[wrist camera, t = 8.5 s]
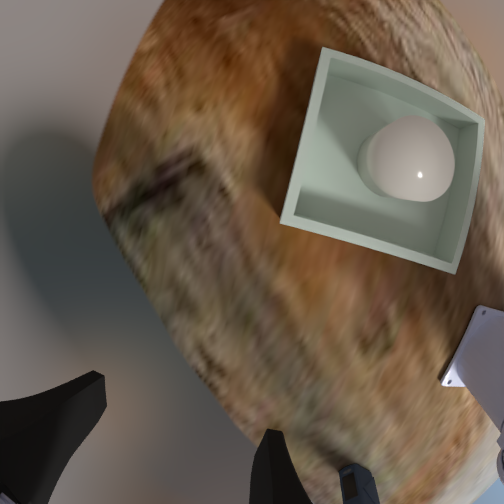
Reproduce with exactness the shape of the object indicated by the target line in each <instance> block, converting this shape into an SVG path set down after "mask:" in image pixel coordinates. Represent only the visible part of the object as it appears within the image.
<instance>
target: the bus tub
mask: <svg viewBox="0 0 504 504" xmlns="http://www.w3.org/2000/svg"><path fill="white" fill-rule="evenodd" d="M409 115H416V116H421V117H424V118H427V119H429V120H430V121H432V122H434V123H435V124H436V125H437V126H438V127H439V128H440V129H441V130H442V131H443V132H444V133H445V135H446V137H447V138H448V140H449V142H450V144H451V147H452V150H453V154H454V161H455V169H454V175H453V179H452V181H451V184H450V186H449V187H448V189H447V190H446V191H445V193H443V194H442V195H441V196H440V197H438V198H437V199H434V200H432V201H426V202H420V201H412V200H404V199H395V198H386V197H382V196H379V195H377V194H375V193H373V192H372V191H371V190H369V189H368V188H367V187H366V186H365V184H364V183H363V181H362V179H361V178H360V175H359V172H358V169H357V154H358V151H359V148H360V146H361V144H362V143H363V141H364V140H365V139H366V138H368V137H369V136H370V135H372V134H374V133H375V132H377V131H379V130H380V129H382V128H384V127H385V126H387V125H389V124H390V123H392V122H394V121H395V120H397V119H399V118H401V117H404V116H409ZM484 127H485V119H483V118H482V117H480V116H479V115H477V114H476V113H474V112H473V111H471V110H469V109H468V108H466V107H464V106H463V105H461V104H459V103H458V102H456V101H454V100H452V99H451V98H449V97H447V96H445V95H443V94H442V93H440V92H438V91H436V90H434V89H432V88H430V87H428V86H426V85H424V84H422V83H420V82H418V81H415V80H413V79H411V78H409V77H407V76H404V75H402V74H400V73H397V72H395V71H393V70H390V69H388V68H385V67H383V66H380V65H377V64H375V63H372V62H369V61H366V60H364V59H361V58H358V57H355V56H352V55H348V54H345V53H342V52H339V51H335V50H332V49H328V48H324V47H322V50H321V54H320V57H319V61H318V64H317V68H316V73H315V77H314V81H313V86H312V90H311V94H310V99H309V103H308V107H307V111H306V115H305V120H304V124H303V128H302V132H301V136H300V140H299V144H298V149H297V153H296V157H295V161H294V165H293V169H292V173H291V177H290V181H289V185H288V189H287V193H286V197H285V201H284V204H283V208H282V212H281V216H280V223H281V224H285V225H288V226H292V227H296V228H300V229H303V230H307V231H311V232H314V233H318V234H322V235H325V236H329V237H333V238H336V239H340V240H343V241H347V242H350V243H354V244H357V245H361V246H364V247H367V248H371V249H374V250H378V251H381V252H384V253H388V254H391V255H394V256H398V257H401V258H404V259H407V260H411V261H414V262H417V263H420V264H423V265H426V266H430V267H433V268H436V269H439V270H442V271H445V272H448V273H451V274H454V275H455V274H456V271H457V268H458V265H459V262H460V258H461V255H462V252H463V248H464V245H465V241H466V237H467V234H468V230H469V226H470V222H471V217H472V213H473V208H474V203H475V198H476V193H477V187H478V181H479V175H480V168H481V160H482V151H483V141H484Z"/></svg>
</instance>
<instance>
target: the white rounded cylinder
mask: <svg viewBox="0 0 504 504" xmlns="http://www.w3.org/2000/svg"><path fill="white" fill-rule="evenodd" d="M357 169H358V172H359V175H360V178H361V179H362V181H363V183H364V184H365V186H366V187H367V188H368V189H369V190H371V191H372V192H373V193H375V194H377V195H379V196H382V197H386V198H395V199H404V200H412V201H420V202H426V201H432V200H434V199H437V198H438V197H440V196H441V195H442V194H443V193H445V191H446V190H447V189H448V187H449V186H450V184H451V181H452V179H453V175H454V169H455V161H454V154H453V150H452V147H451V144H450V142H449V140H448V138H447V137H446V135H445V133H444V132H443V131H442V130H441V129H440V128H439V127H438V126H437V125H436V124H435V123H434V122H432V121H430V120H429V119H427V118H424V117H421V116H416V115H409V116H404V117H401V118H399V119H397V120H395V121H394V122H392V123H390V124H389V125H387V126H385V127H384V128H382V129H380V130H379V131H377V132H375V133H374V134H372V135H370V136H369V137H368V138H366V139H365V140H364V141H363V143H362V144H361V146H360V148H359V151H358V154H357Z"/></svg>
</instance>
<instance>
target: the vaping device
mask: <svg viewBox="0 0 504 504" xmlns="http://www.w3.org/2000/svg"><path fill="white" fill-rule="evenodd" d="M339 477H340V484H341V491H342V498H343V504H380V502H379V497H378V493H377V489H376V484H375V480H374V477H372V474H371V472H369V471H368V470H366V469H364V468H363V467H361V466H359V465H358V464H353V465H349V466H347V467H345V468H343V469H342V470H341V471H339Z"/></svg>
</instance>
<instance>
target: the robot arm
mask: <svg viewBox="0 0 504 504" xmlns="http://www.w3.org/2000/svg"><path fill="white" fill-rule="evenodd" d="M482 312H483V313H482ZM440 383H441V385H442V386H455V387H467V389H468V390H469V391H470V392H471V394H472V395H473V396H474V398H475V399H476V400H477V401H478V403H479V404H480V405H481V407H482V408H483V409H484V411H485V412H486V413H487V415H488V416H489V417H490V419H491V420H492V421H493V423H494V424H495V425H496V427H497V428H498V430H499V431H500V432H501V435H500V437H499V438H498V440H497V443H498V445H499V446H500V448H501V450H500V452H499V454H498V457H497V470H498V474H499V477H500V480H501V482H502V483H503V485H504V312H503V311H500V310H496V309H493V308H489V307H486V306H482V305H479V306H477V307H476V309H475V311H474V314H473V316H472V318H471V321H470V323H469V325H468V328H467V330H466V332H465V334H464V336H463V339H462V341H461V343H460V345H459V347H458V349H457V351H456V353H455V355H454V357H453V359H452V361H451V362H450V364H449V366H448V368H447V370H446V372H445V373H444V375H443V377H442V379H441V381H440ZM106 407H107V402H106V392H105V377H104V375H102V374H100V373H98V372H96V371H94V370H93V371H91V372H88V373H86V374H84V375H82V376H80V377H78V378H75V379H74V380H71V381H69V382H67V383H65V384H62V385H60V386H57V387H55V388H53V389H50V390H47V391H45V392H42V393H39V394H36V395H33V396H29V397H25V398H21V399H16V400H9V401H1V402H0V504H48V502H49V499H50V497H51V495H52V492H53V490H54V488H55V486H56V483H57V481H58V480H59V477H60V476H61V474H62V472H63V470H64V468H65V466H66V465H67V463H68V461H69V459H70V458H71V456H72V455H73V454H74V452H75V451H76V450H77V448H78V447H79V446H80V445H81V443H82V442H83V441H84V439H85V438H86V437H87V436H88V434H89V433H90V432H91V431H92V429H93V428H94V427H95V425H96V424H97V423H98V421H99V419H100V418H101V416H102V414H103V412H104V411H105V409H106ZM249 504H313V503H312V502H311V500H310V499H309V497H308V495H307V494H306V492H305V490H304V488H303V486H302V484H301V482H300V480H299V478H298V476H297V473H296V471H295V468H294V466H293V463H292V461H291V458H290V455H289V452H288V449H287V446H286V443H285V439H284V435H283V433H282V431H278V430H272V429H267V430H266V432H265V434H264V436H263V439H262V441H261V443H260V445H259V447H258V449H257V451H256V454H255V456H254V461H253V466H252V472H251V482H250V498H249Z"/></svg>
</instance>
